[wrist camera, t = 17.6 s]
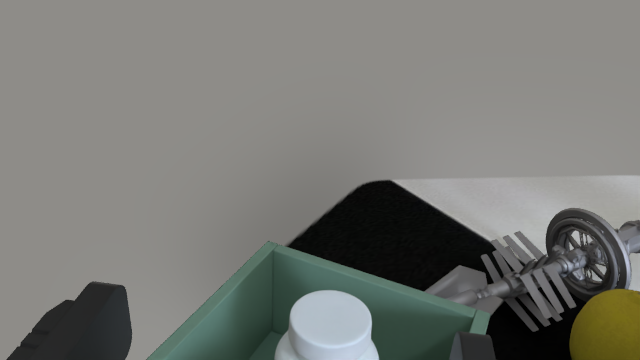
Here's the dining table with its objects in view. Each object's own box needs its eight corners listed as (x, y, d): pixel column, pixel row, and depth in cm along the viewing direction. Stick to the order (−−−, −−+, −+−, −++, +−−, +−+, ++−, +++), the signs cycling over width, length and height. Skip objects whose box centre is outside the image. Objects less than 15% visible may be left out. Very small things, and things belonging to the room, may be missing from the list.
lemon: (663, 426, 34) (713, 329, 30) (573, 419, 34) (612, 321, 30) (623, 359, 39) (662, 268, 35) (545, 353, 39) (576, 262, 35)
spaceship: (806, 207, 44) (727, 138, 48) (444, 361, 32) (381, 252, 36) (737, 258, 50) (671, 193, 54) (410, 404, 38) (360, 306, 42)
